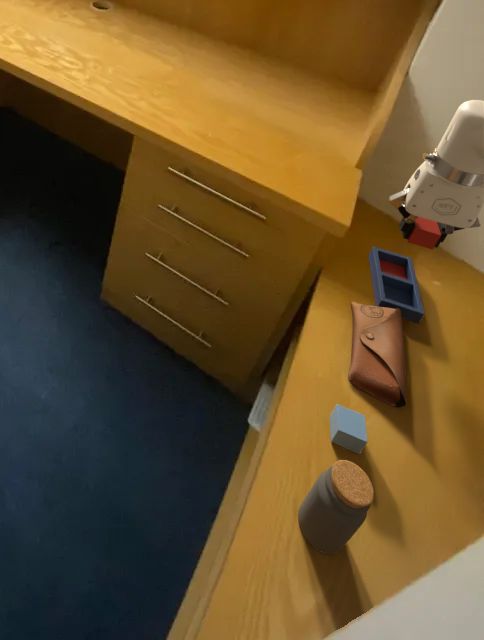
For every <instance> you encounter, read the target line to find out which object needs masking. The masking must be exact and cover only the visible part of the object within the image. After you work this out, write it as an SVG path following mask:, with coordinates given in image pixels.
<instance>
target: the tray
mask: <svg viewBox="0 0 484 640" xmlns="http://www.w3.org/2000/svg"><path fill="white" fill-rule="evenodd" d="M368 262H369V268H370V276H371V281H372V288H373V295H374V296H373V297H374V302H375V306H379V307H387V308H393V309H396V308H398V309H400V311H401V318H402V319H403V320H407V321H410V322H413V323H415V324H420V322H421V321H422V320H423V318H424V317H425V315H426V314H425V310H424V305H423V302H422V297H421V293H420V288H419V283H418V279H417V275H416V270H415V267H414V262H413V258H412V257H410V256H406V255H403V254H399V253H396V252H392V251H390V250H386V249H383V248H379V247H376V246H372V248H371V249H370V252H369V254H368Z"/></svg>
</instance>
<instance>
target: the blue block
mask: <svg viewBox="0 0 484 640" xmlns="http://www.w3.org/2000/svg"><path fill="white" fill-rule="evenodd" d="M366 423H367V422H366V415H365V414H362V413H360V412H358V411H355V410H352V409H350V408H348V407H345V406H343V405H340V404H338V403H336V404H335V406H334V408H333V409H332V411H331V413H330V415H329V431H330V432H329V433H330V442H331V443H333V444H335V445H337V446H339V447H342V448H344V449H346V450H349V451H350V452H354V453H355V454H358V455H360V454H361V453H362V451H363V449H364V448H365V447H366V446H367V444H368V433H367V425H366Z"/></svg>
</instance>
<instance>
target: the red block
mask: <svg viewBox="0 0 484 640" xmlns="http://www.w3.org/2000/svg"><path fill="white" fill-rule="evenodd" d="M414 223H415V227H414V229H413V230H412V232H411V234H410V236H409V238H408V239H406V241H407V243H409V244H412V245H415V246H420V247H422V248H426V249H431V250H433V249H434V248H435V247H434V246H435V245H436V243H437V241H438V240H439V238H440V236H441V233H440V230H439V227H438V223H437V222H436V221H432V220H429V219H425V218H422V217H418V218H417V219H416V220H415V221H414Z"/></svg>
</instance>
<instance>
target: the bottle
mask: <svg viewBox="0 0 484 640" xmlns="http://www.w3.org/2000/svg"><path fill="white" fill-rule="evenodd" d="M374 497H375V491H374V487H373V483H372V481H371V479H370V478H369V476H368V475H367V473H366V472H365V470H363V469H362V467H360V466H359V465H357V464H356V463H355V462H352V461H350V460H346V459H340V460H336V462H335V463H334V464H333V465H331V466H329V468H328V469H326V470H325V471H323V472H321V473H320V475H319V476H318V477H317V479H315V482H314V483H313V485H312V487H311V488H310V490H309V491H308V492H307V494H306V495H305V497H304V499H303V501H302V502H301V504H300V505H299V508H298V513H297V520H298V524H299V528H300V530H301V532H302V534H303V537H304V538H305V539H306V541H307V540H308V541H307V542H308V543H309V544H310V545H311V547H313V548H314V547H315V548H314V549H316V550H317V549H318V550H319V551H318V550H317V551H318V552H320V551H322V552H324V553H323V554H325V553H327V554H326V555H330V554H332V555H335V553H336V554H338V553H339V552H341V550H342V549H343V548H344V547H345V546H346V544H347V543H348V542H349V541H350V540H351V539H352V538H353V536H354V535H355V534H356V532H358V530H359V529H360V528H361V526H362V525H364V523H365V521H366V519H367V516H368V511H369V509H370V508H371V504H372V503H373V501H374ZM322 552H321V553H322Z"/></svg>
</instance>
